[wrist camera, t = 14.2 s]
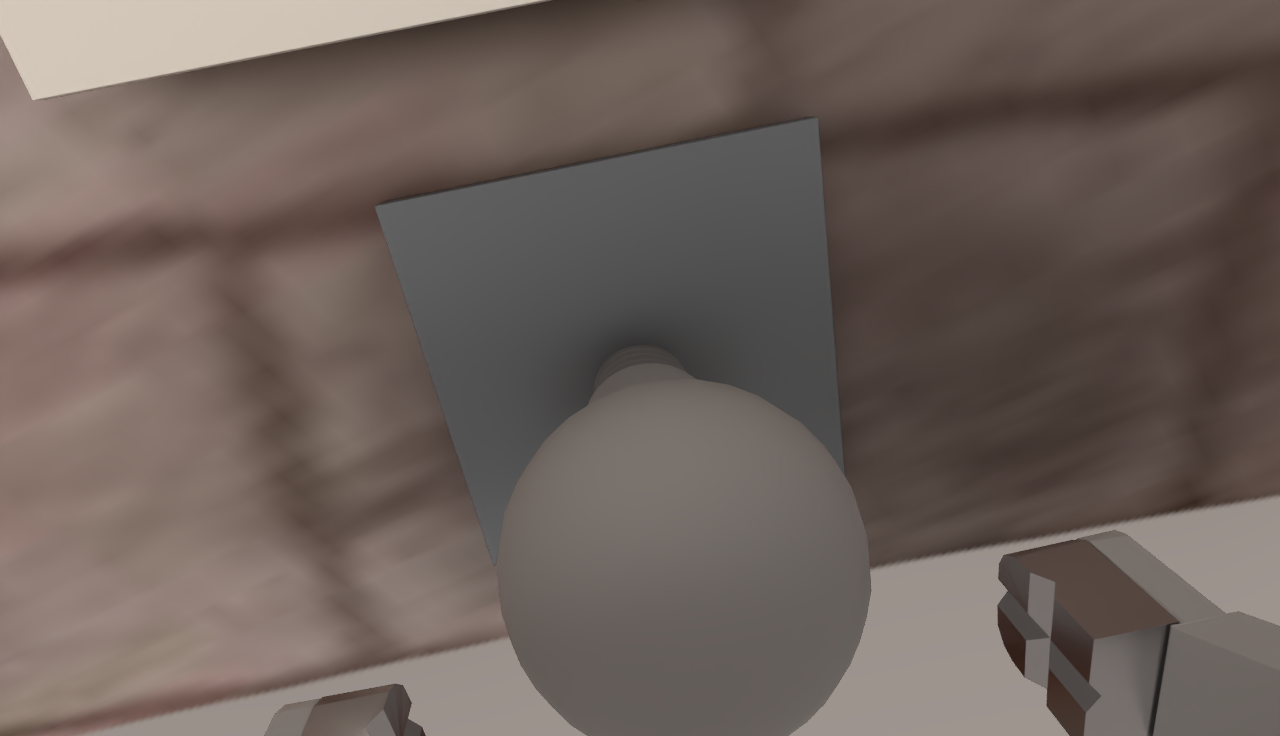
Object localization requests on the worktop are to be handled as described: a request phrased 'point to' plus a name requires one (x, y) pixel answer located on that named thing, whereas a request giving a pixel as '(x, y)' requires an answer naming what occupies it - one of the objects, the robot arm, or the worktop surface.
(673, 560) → the lightbulb
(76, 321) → the worktop surface
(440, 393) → the mat
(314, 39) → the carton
